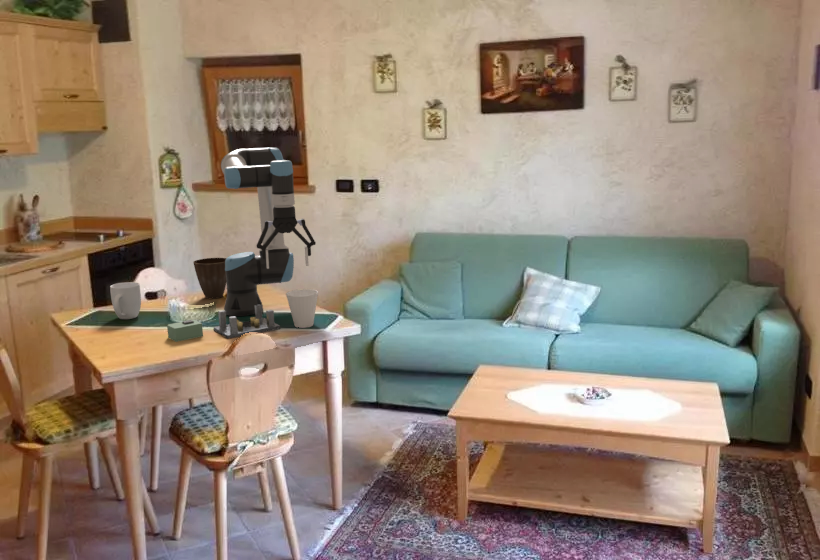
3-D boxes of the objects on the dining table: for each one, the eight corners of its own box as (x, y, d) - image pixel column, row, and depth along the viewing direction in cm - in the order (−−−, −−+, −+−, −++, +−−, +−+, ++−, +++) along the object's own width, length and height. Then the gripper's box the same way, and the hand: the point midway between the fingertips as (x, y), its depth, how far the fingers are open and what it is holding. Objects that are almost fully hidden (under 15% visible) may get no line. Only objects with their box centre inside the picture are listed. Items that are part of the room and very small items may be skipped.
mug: (132, 323, 294) (128, 290, 291) (104, 323, 295) (100, 290, 292) (147, 313, 309) (144, 281, 306) (120, 313, 309) (117, 282, 307)
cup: (291, 321, 290) (288, 289, 288) (322, 320, 290) (320, 288, 287) (285, 329, 279) (282, 296, 276) (317, 329, 278) (315, 295, 276)
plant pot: (204, 292, 343) (200, 257, 339) (236, 292, 341) (233, 257, 338) (191, 300, 328) (188, 264, 325) (225, 300, 327) (222, 263, 323)
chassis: (227, 338, 270) (226, 319, 268) (213, 330, 281) (212, 311, 280) (280, 328, 280) (279, 310, 279) (265, 321, 292) (263, 303, 290)
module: (176, 342, 268) (174, 326, 267) (168, 338, 273) (166, 323, 272) (203, 336, 274) (201, 321, 273) (195, 332, 279) (193, 317, 278)
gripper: (246, 209, 258) (251, 271, 263) (321, 205, 263) (324, 266, 268) (246, 206, 265) (251, 266, 270) (319, 202, 270) (322, 262, 275)
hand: (287, 266), depth 269 cm, fingers open, 13 cm apart
